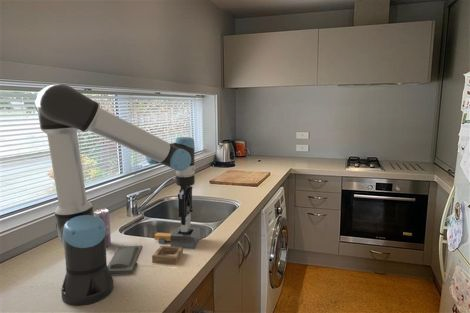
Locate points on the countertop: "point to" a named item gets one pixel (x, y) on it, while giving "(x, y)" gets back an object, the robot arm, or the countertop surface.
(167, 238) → the block
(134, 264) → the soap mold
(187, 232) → the gray rectangular bar
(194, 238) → the socket block
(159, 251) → the square wooden tray
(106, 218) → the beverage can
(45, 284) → the countertop surface
